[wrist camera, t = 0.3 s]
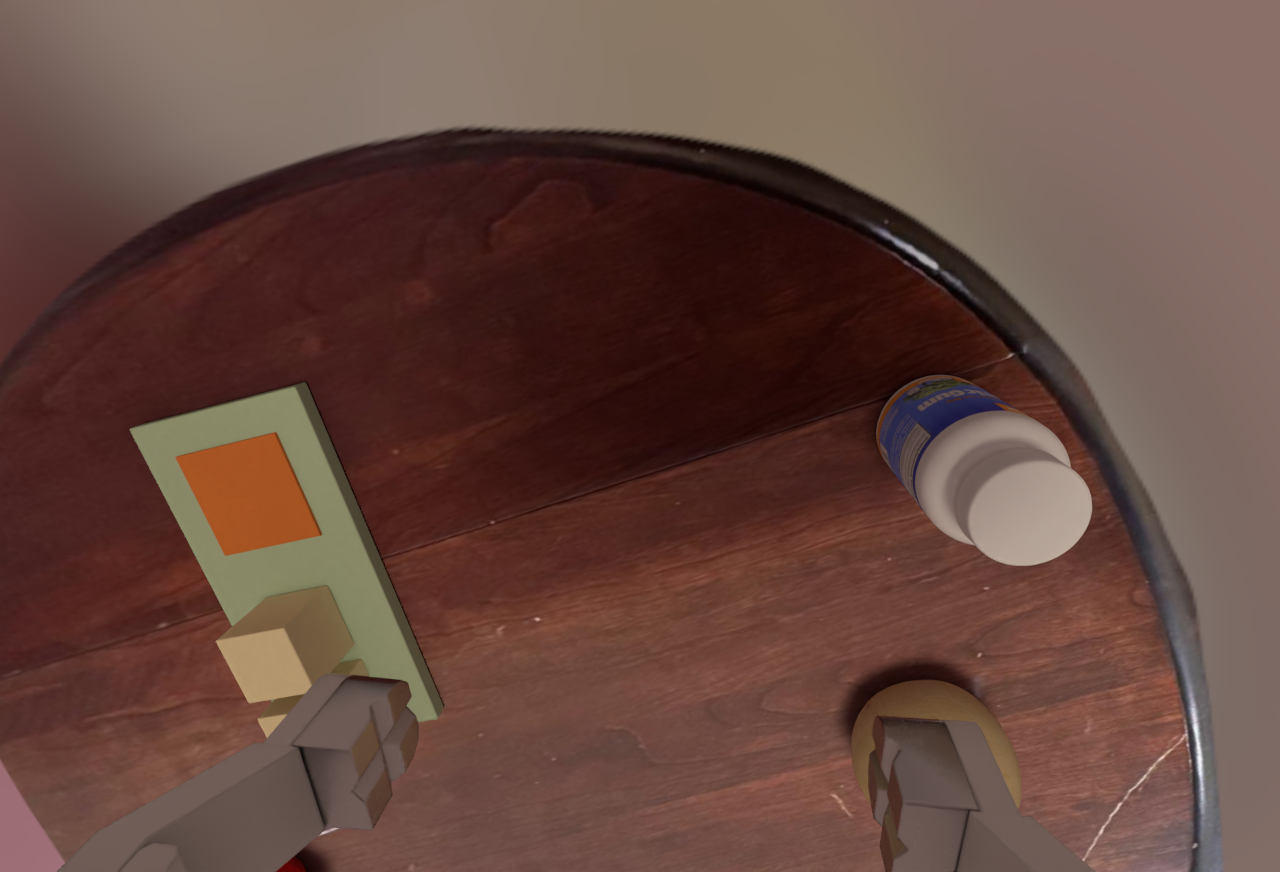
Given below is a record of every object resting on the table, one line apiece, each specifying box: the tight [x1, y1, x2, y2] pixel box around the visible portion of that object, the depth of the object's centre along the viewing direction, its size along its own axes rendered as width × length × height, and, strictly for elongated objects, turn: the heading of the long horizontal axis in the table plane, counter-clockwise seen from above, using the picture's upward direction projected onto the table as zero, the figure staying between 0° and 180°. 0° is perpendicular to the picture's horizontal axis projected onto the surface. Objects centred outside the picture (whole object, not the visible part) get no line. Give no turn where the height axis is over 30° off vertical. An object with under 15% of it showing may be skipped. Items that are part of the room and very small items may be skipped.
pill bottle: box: [876, 375, 1092, 566], centre depth 26 cm, size 5×5×10 cm
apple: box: [851, 680, 1021, 810], centre depth 32 cm, size 8×8×8 cm
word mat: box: [130, 383, 444, 738], centre depth 34 cm, size 21×10×5 cm, turn 15°
